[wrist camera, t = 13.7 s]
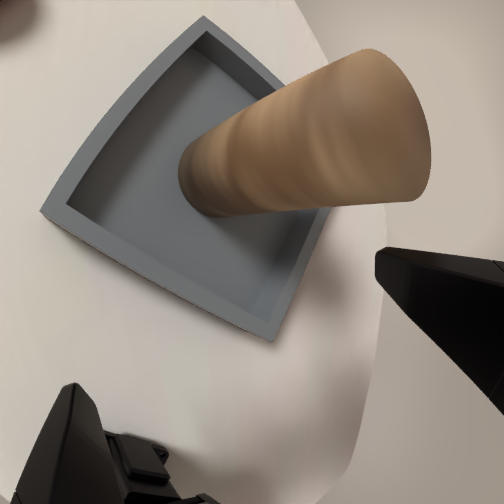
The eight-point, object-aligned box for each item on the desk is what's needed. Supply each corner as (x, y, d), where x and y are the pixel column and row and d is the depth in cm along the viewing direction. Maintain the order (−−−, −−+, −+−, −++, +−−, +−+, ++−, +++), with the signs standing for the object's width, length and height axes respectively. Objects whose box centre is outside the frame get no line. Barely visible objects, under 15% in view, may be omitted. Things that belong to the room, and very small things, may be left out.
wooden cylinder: (265, 193, 22) (441, 168, 11) (204, 234, 20) (391, 231, 9) (231, 123, 20) (395, 46, 10) (162, 155, 18) (320, 54, 7)
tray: (247, 331, 23) (272, 342, 20) (43, 215, 15) (39, 211, 12) (324, 161, 27) (350, 155, 24) (185, 36, 19) (203, 15, 16)
